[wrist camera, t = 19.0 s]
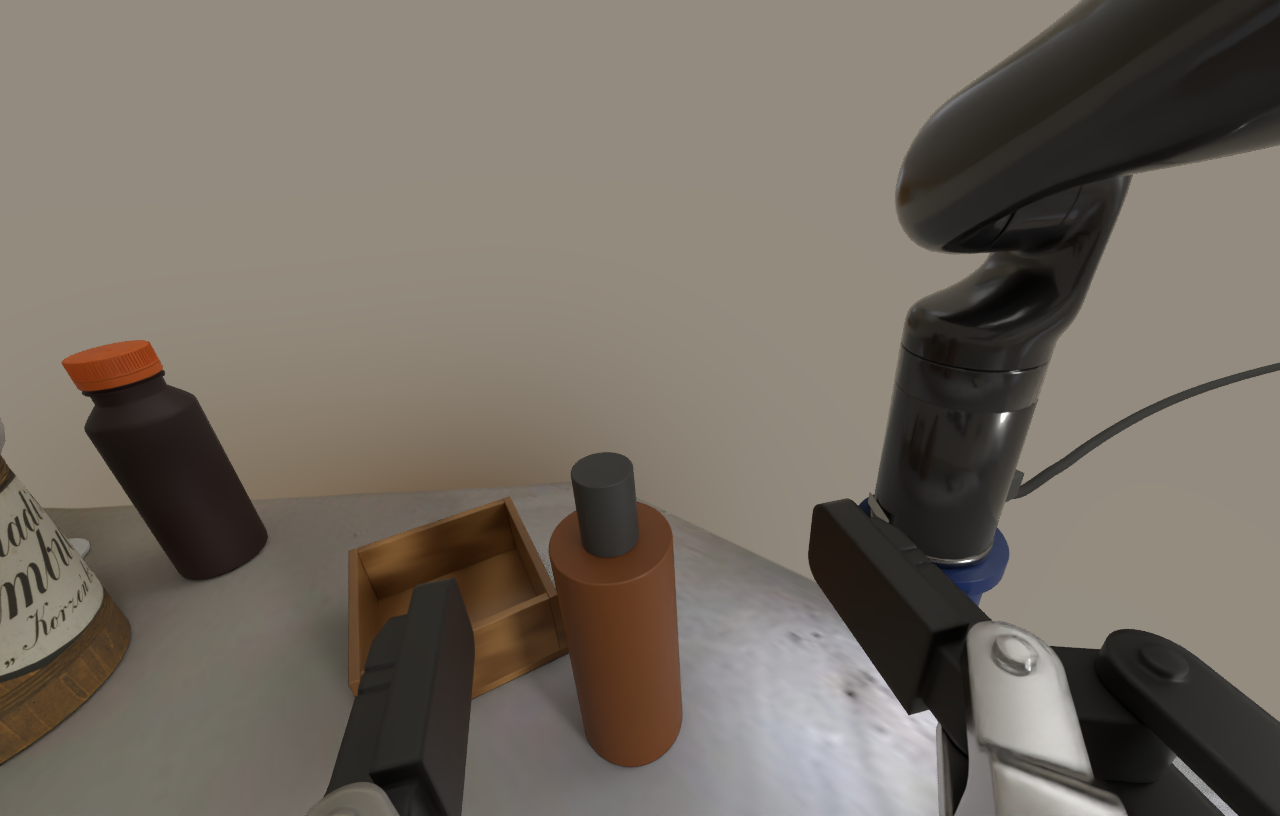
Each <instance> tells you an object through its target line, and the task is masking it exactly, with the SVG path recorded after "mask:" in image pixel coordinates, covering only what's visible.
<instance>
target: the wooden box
mask: <svg viewBox="0 0 1280 816" xmlns="http://www.w3.org/2000/svg"><path fill="white" fill-rule="evenodd" d="M448 578H455V579H456V581H457V583H458V586H459V589H460V592H461V595H462V598H463V601H464V604H465V607H466V610H467V613H468V616H469V619H470V623H471V626H472V629H473V635H474V643H475V663H474V674H473V686H472V697H471V699H473V698H475V697H477V696H479V695H481V694H483V693H486V692H488V691H490V690H492V689H494V688H496V687H498V686H500V685H502V684H504V683H506V682H508V681H511V680H513V679H515V678H517V677H519V676H521V675H523V674H525V673H527V672H529V671H531V670H533V669H535V668H538V667H540V666H542V665H544V664H546V663H548V662H550V661H552V660H554V659H556V658H558V657H560V656H562V655H565V654H567V653H569V650H568V645H567V640H566V635H565V630H564V625H563V620H562V615H561V610H560V605H559V600H558V595H557V591H556V589H555V587H554V585H553V583H552V581H551V579H550V577H549V575H548V573H547V571H546V569H545V567H544V565H543V563H542V561H541V559H540V557H539V555H538V553H537V551H536V548H535V546H534V544H533V542H532V540H531V538H530V536H529V534H528V532H527V530H526V528H525V526H524V524H523V522H522V520H521V518H520V516H519V514H518V512H517V510H516V508H515V506H514V504H513V502H512V500H511V498H510V497H506V498H504V499H500V500H497V501H494V502H492V503H489V504H486V505H483V506H480V507H477V508H474V509H471V510H468V511H465V512H462V513H459V514H456V515H453V516H450V517H447V518H444V519H442V520H439V521H436V522H433V523H430V524H427V525H424V526H421V527H418V528H415V529H412V530H409V531H406V532H403V533H400V534H397V535H394V536H392V537H389V538H386V539H383V540H380V541H377V542H374V543H371V544H368V545H365V546H362V547H359V548H358V549H357V548H356V549H353V550H350V551H349V659H348V685H349V687H350V688H351V690H352V692H353V694H354V696H355V697H356V696H357V695H358V691H357V690H358V687H359V683H360V680H361V677H362V674H363V673H364V667H365V663H366V660H367V657H368V653H369V650H370V647H371V643H372V641H373V640H374V639H375V637H376V636H377V634H378V633H379V632H380V630H381V629H382V628H383V626H384V625H385V623H386V622H387V621H388V619H389V618H391V617H395V616H400V615H405V614H407V612H408V608H409V604H410V600H411V596H412V592H413V589H414V587H415V586H416V585H419V584H423V583H428V582H433V581H438V580H443V579H448Z"/></svg>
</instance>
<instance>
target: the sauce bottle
mask: <svg viewBox="0 0 1280 816" xmlns="http://www.w3.org/2000/svg"><path fill="white" fill-rule="evenodd" d="M571 479H572V485H573V492H574V498H575V504H576V511H574V512H573V513H571V514H570V515H568V516H567V517H566V518H565V519H563V520H562V521H561V522H560V523H559V525H558V526H557V527H556V528H555V530H554V532H553V534H552V536H551V539H550V542H549V556H550V561H551V566H552V571H553V576H554V581H555V586H556V591H557V595H558V600H559V605H560V610H561V615H562V620H563V625H564V630H565V635H566V640H567V645H568V650H569V655H570V659H571V664H572V669H573V674H574V679H575V684H576V689H577V694H578V699H579V704H580V709H581V714H582V719H583V724H584V728H585V733H586V736H587V739H588V741H589V743H590V745H591V746H592V747H593V749H594V750H595V751H596V752H597V753H598V754H599V755H600V756H601V757H602V758H604V759H605V760H607V761H609V762H611V763H613V764H616V765H620V766H627V767H634V766H641V765H645V764H648V763H650V762H652V761H654V760H656V759H658V758H659V757H661V756H662V755H663V754H664V753H665V752H666V751H668V749H669V748H670V747H671V746H672V744H673V743H674V741H675V740H676V738H677V736H678V733H679V731H680V727H681V723H682V699H681V681H680V662H679V644H678V626H677V607H676V589H675V570H674V552H673V536H672V530H671V527H670V525H669V523H668V521H667V520H666V519H665V517H664V516H663V515H662V514H661V513H660V512H658V511H657V510H656V509H654V508H652V507H650V506H648V505H646V504H643V503H640V502H636V493H635V482H634V472H633V465H632V462H631V461H630V460H629V459H628V458H627V457H625V456H623V455H621V454H617V453H611V452H604V453H597V454H592V455H589V456H586V457H584V458H582V459H580V460H579V461H578V462H577V463H576V464H575V465H574V466H573V467H572V470H571Z"/></svg>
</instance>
